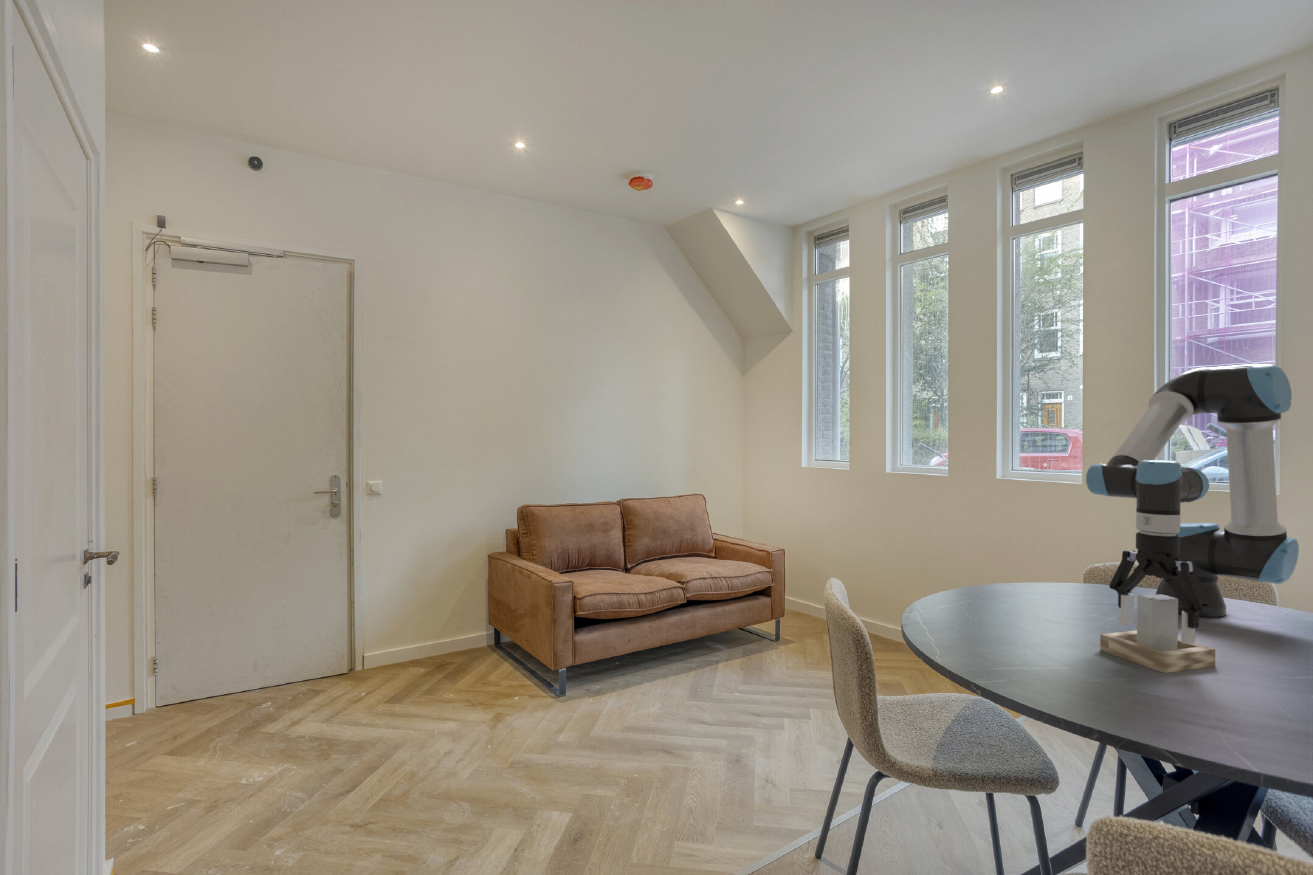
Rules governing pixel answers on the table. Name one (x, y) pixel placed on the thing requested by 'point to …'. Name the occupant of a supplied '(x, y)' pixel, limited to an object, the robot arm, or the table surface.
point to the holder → (1157, 653)
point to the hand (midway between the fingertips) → (1156, 633)
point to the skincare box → (1157, 622)
